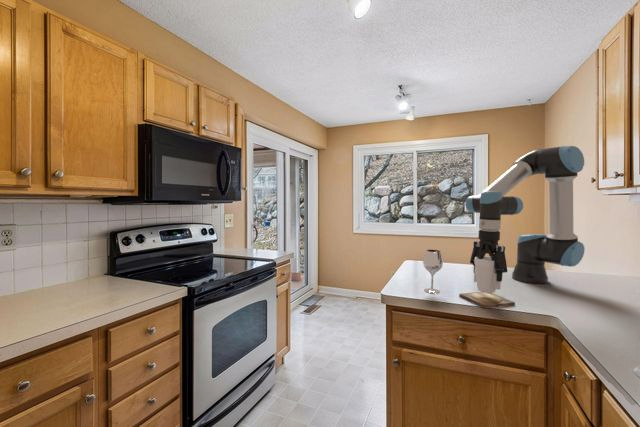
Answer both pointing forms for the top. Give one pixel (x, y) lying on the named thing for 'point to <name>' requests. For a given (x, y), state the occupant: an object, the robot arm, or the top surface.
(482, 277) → the foam cup
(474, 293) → the stand board
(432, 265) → the wineglass
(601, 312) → the top surface
